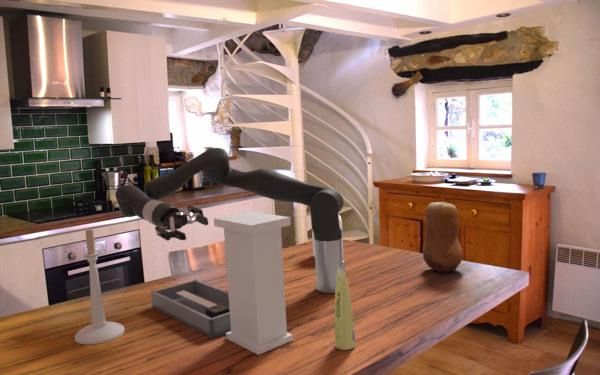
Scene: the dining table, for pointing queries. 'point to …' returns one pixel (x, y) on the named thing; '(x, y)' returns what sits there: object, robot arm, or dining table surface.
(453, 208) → the butternut squash
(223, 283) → the dining table surface
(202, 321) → the bin
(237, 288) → the stand
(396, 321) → the dining table surface
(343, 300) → the tube
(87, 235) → the candlestick
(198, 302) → the plug rod
